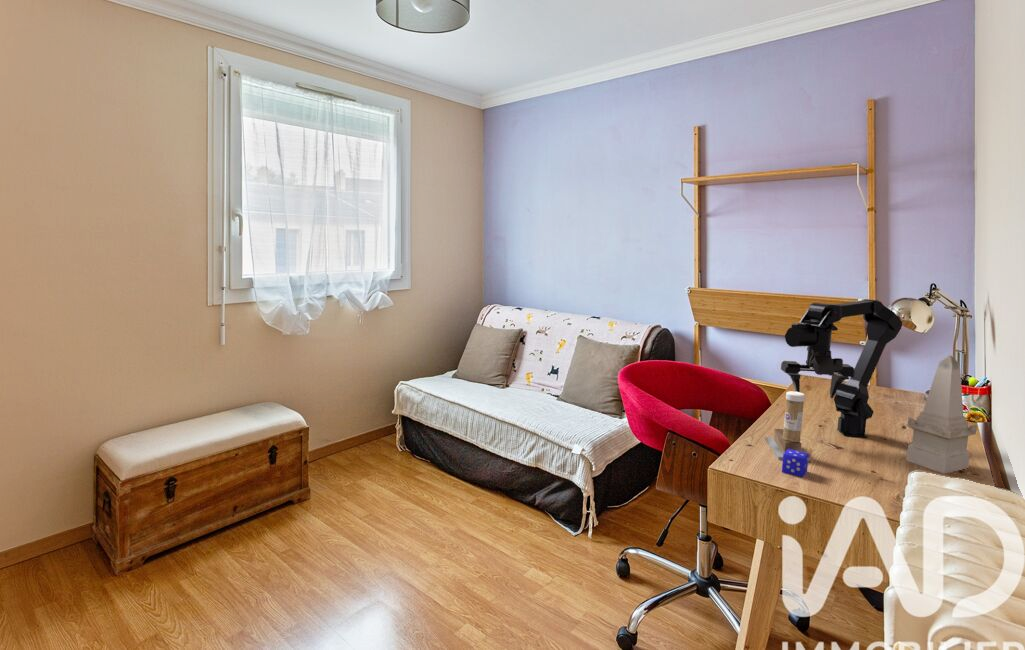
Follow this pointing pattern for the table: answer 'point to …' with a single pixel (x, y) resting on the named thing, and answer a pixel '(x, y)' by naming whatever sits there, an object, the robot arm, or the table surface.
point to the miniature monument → (942, 424)
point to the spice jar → (793, 416)
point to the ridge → (782, 444)
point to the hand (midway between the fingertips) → (814, 396)
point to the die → (795, 462)
